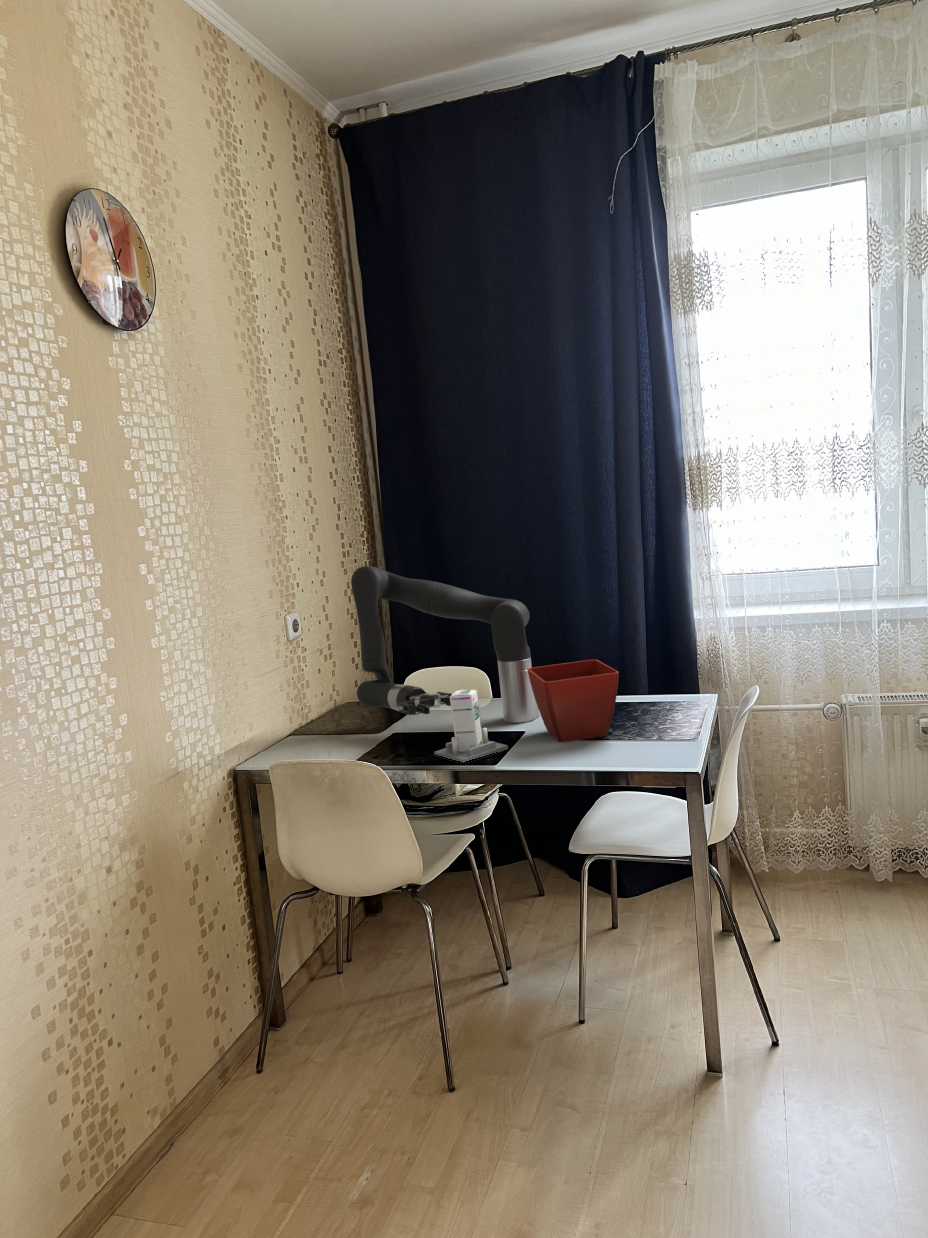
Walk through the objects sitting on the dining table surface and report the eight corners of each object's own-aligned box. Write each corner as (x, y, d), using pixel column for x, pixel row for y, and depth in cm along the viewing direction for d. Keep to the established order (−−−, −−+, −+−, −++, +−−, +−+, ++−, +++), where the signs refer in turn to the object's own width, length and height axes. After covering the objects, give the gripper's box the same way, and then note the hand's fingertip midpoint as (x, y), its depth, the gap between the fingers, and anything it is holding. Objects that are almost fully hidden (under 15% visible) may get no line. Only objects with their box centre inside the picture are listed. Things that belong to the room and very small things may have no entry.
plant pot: (625, 737, 224) (620, 671, 222) (551, 749, 222) (544, 681, 219) (601, 720, 243) (596, 658, 241) (532, 730, 240) (526, 668, 238)
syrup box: (478, 751, 222) (472, 694, 220) (455, 752, 224) (449, 695, 222) (483, 744, 228) (477, 688, 226) (461, 745, 229) (455, 689, 227)
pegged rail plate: (478, 741, 235) (476, 723, 234) (508, 749, 225) (506, 729, 224) (434, 755, 227) (432, 736, 226) (463, 764, 217) (461, 743, 216)
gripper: (383, 691, 241) (417, 698, 228) (427, 680, 250) (462, 686, 237) (386, 718, 242) (420, 727, 229) (430, 706, 251) (465, 714, 238)
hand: (442, 706), depth 233 cm, fingers open, 8 cm apart
